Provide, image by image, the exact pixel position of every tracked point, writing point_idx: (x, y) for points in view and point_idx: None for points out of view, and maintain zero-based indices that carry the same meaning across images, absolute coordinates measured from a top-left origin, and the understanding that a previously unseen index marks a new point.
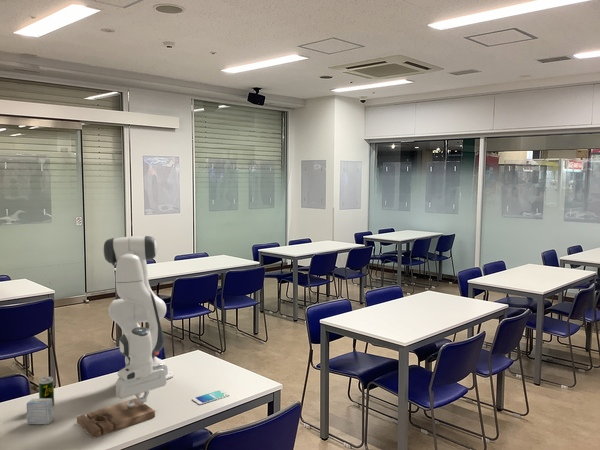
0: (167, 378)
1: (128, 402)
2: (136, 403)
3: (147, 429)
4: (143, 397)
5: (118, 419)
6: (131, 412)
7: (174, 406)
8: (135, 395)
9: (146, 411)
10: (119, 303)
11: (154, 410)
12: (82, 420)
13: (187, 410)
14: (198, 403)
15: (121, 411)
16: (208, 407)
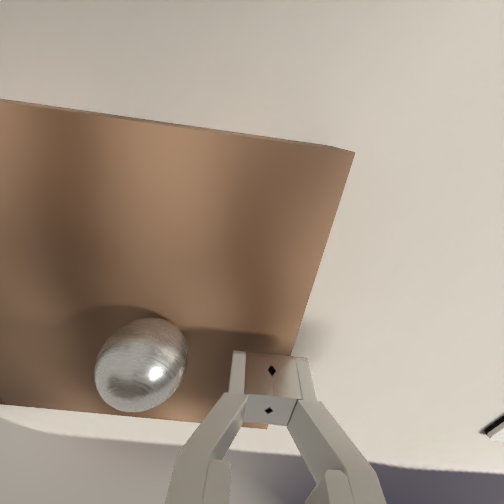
0: None
1: (98, 391)
2: (252, 283)
3: (174, 429)
4: (289, 408)
5: (29, 383)
6: None
7: (422, 377)
8: (180, 457)
9: None
10: None
11: (266, 428)
12: None
13: (404, 429)
14: (494, 433)
15: (72, 313)
16: (468, 456)
